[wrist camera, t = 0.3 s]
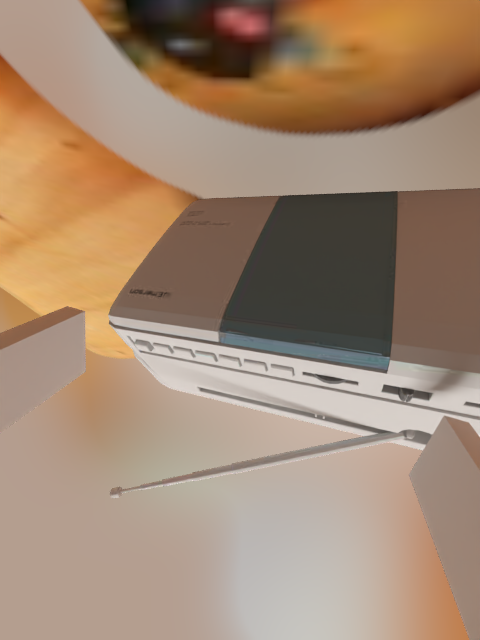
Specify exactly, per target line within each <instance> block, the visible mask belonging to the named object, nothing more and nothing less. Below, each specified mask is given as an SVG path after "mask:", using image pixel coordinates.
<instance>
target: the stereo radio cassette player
mask: <svg viewBox="0 0 480 640" xmlns="http://www.w3.org/2000/svg"><path fill="white" fill-rule="evenodd" d="M109 319H110V321H109V324H110V326H111V327H112V328H113V329H114V330H115V331H116V333H117V334H118V335H119V336H120V337H121V338H122V340H123V341H124V342H125V343H126V344H127V345H128V346H129V347H130V348H131V349H133V352H134V355H135V357H136V358H137V359H138V360H139V361H140V362H141V363H142V364H143V365H144V366H145V367H146V368H147V370H149V372H150V373H151V374H152V375H153V376H154V377H155V378H156V379H157V380H158V381H159V382H160V383H161V384H163V385H165V386H167V387H168V388H170V389H174V390H178V391H182V392H186V393H190V394H195V395H198V396H202V397H207V398H211V399H215V400H219V401H223V402H227V403H231V404H235V405H239V406H243V407H247V408H252V409H256V410H260V411H264V412H268V413H272V414H276V415H280V416H285V417H288V418H292V419H297V420H301V421H305V422H309V423H313V424H317V425H321V426H325V427H329V428H333V429H338V430H342V431H346V432H350V433H354V434H358V435H362V436H364V437H359V438H354V439H349V440H344V441H339V442H335V443H330V444H325V445H320V446H315V447H311V448H305V449H301V450H296V451H291V452H286V453H282V454H276V455H272V456H267V457H262V458H257V459H252V460H247V461H242V462H238V463H233V464H231V465H227V466H222V467H217V468H212V469H207V470H202V471H198V472H193V473H192V474H187V475H183V476H178V477H173V478H168V479H164V480H162V481H158V482H153V483H148V484H143V485H141V486H138V487H133V488H129V489H123V490H122V488H121V487H116V488H113V489H112V490H111V492H110V496H111V498H117V497H120V496H121V495H122V493H125V492H129V491H134V490H139V489H140V490H144V489H149V488H154V487H159V486H167V485H172V484H177V483H182V482H187V481H192V480H193V481H197V480H202V479H207V478H211V477H216V476H221V475H226V474H231V473H234V474H235V473H240V472H245V471H250V470H254V469H259V468H264V467H269V466H274V465H279V464H284V463H289V462H294V461H299V460H304V459H309V458H313V457H318V456H323V455H328V454H333V453H338V452H342V451H348V450H353V449H358V448H362V447H367V446H372V445H377V444H382V443H387V442H391V443H395V444H399V445H403V446H407V447H411V448H415V449H419V450H424V448H425V447H426V445H427V443H428V442H429V440H430V438H431V436H432V435H433V433H434V431H435V430H436V428H437V426H438V425H439V423H440V421H441V420H442V418H443V416H444V415H445V416H448V417H452V418H455V419H458V420H462V421H465V422H469V423H470V425H471V426H472V427H473V429H474V430H475V431H476V433H477V434H478V435H479V437H480V188H478V189H452V190H426V191H400V192H397V191H392V192H366V193H341V194H314V195H288V196H263V197H240V198H239V197H238V198H212V199H200V200H197V201H195V202H193V203H191V204H190V205H189V206H188V207H187V208H186V209H185V210H184V211H183V212H182V213H181V214H180V216H179V217H178V218H177V219H176V220H175V221H174V223H173V224H172V225H171V226H170V227H169V228H168V230H167V231H166V232H165V233H164V235H163V236H162V237H161V238H160V240H159V241H158V242H157V243H156V245H155V246H154V247H153V249H152V250H151V251H150V252H149V254H148V255H147V256H146V258H145V259H144V260H143V262H142V263H141V264H140V266H139V267H138V268H137V270H136V271H135V272H134V274H133V275H132V277H131V278H130V279H129V281H128V282H127V283H126V285H125V286H124V287H123V289H122V290H121V292H120V293H119V295H118V297H117V298H116V300H115V302H114V303H113V305H112V306H111V309H110V312H109Z"/></svg>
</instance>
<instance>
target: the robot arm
mask: <svg viewBox="0 0 480 640" xmlns="http://www.w3.org/2000/svg"><path fill="white" fill-rule="evenodd" d="M85 360H86V359H85V311H82V310H79V309H75V308H72V307H68V306H67V307H64V308H62V309H59V310H57V311H54V312H52V313H49V314H47V315H44V316H42V317H39V318H37V319H34V320H32V321H29V322H27V323H24V324H22V325H19V326H17V327H14V328H12V329H10V330H7V331H5V332H2V333H0V433H1V432H3V431H4V430H5V429H7V428H8V427H10V426H11V425H12V424H14V423H15V422H17V421H18V420H19V419H21V418H22V417H23V416H25V415H26V414H28V413H29V412H30V411H32V410H33V409H34V408H35V407H37V406H39V405H40V404H41V403H43V402H44V401H46V400H47V399H48V398H50V397H51V396H52V395H54V394H55V393H57V392H58V391H59V390H60V389H62V388H63V387H65V386H66V385H68V384H69V383H70V382H72V381H73V380H74V379H76V378H77V377H79V376H80V375H81V374H83V373H84V372H85V371H86V369H85V368H86V363H85V362H86V361H85ZM409 476H410V479H411V482H412V485H413V487H414V490H415V493H416V495H417V498H418V501H419V504H420V506H421V509H422V512H423V515H424V517H425V520H426V523H427V525H428V528H429V531H430V534H431V536H432V539H433V541H434V544H435V547H436V550H437V553H438V555H439V558H440V561H441V563H442V566H443V569H444V572H445V574H446V577H447V580H448V582H449V585H450V588H451V590H452V593H453V596H454V599H455V601H456V604H457V607H458V610H459V612H460V615H461V618H462V620H463V623H464V626H465V629H466V631H467V634H468V637H469V639H470V640H480V437H479V435H478V434H477V433H476V431H475V430H474V429H473V427H472V426H471V425H470V423H469V422H465V421H462V420H458V419H455V418H452V417H448V416H445V415H444V416H443V418H442V420H441V421H440V423H439V425H438V426H437V428H436V430H435V431H434V433H433V435H432V436H431V438H430V440H429V442H428V443H427V445H426V447H425V448H424V450H423V452H422V453H421V455H420V457H419V458H418V460H417V462H416V463H415V465H414V467H413V468H412V470H411V472H410V474H409Z"/></svg>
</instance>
